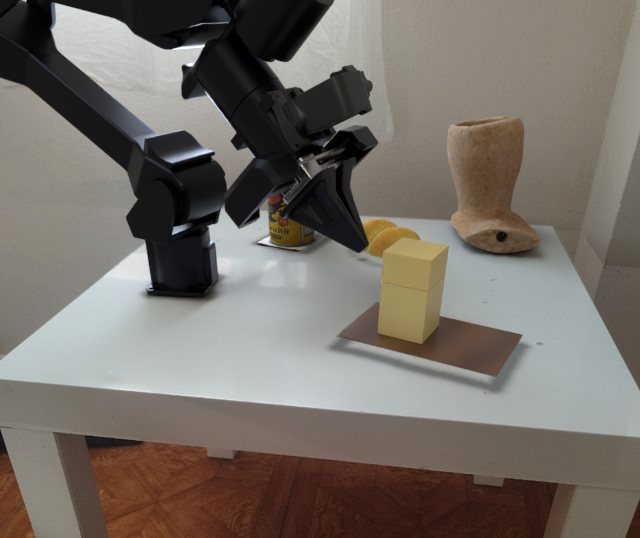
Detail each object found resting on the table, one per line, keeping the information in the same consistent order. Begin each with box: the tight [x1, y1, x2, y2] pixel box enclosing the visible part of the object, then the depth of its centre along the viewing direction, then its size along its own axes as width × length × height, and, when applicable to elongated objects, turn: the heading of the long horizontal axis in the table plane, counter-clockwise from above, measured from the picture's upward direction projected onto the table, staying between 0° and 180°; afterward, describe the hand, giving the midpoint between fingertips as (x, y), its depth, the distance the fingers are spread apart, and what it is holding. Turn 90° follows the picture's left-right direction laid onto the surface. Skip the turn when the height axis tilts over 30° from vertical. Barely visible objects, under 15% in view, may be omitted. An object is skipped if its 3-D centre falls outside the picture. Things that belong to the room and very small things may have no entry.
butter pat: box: [380, 237, 450, 292], centre depth 54 cm, size 4×4×3 cm
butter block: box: [378, 275, 446, 344], centre depth 56 cm, size 4×4×5 cm
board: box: [336, 301, 523, 378], centre depth 57 cm, size 15×9×1 cm, turn 61°
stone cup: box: [446, 115, 543, 254], centre depth 79 cm, size 15×12×15 cm
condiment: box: [256, 193, 327, 251], centre depth 79 cm, size 7×8×12 cm
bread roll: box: [362, 217, 421, 258], centre depth 77 cm, size 8×9×4 cm
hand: (364, 249), depth 56 cm, fingers closed
